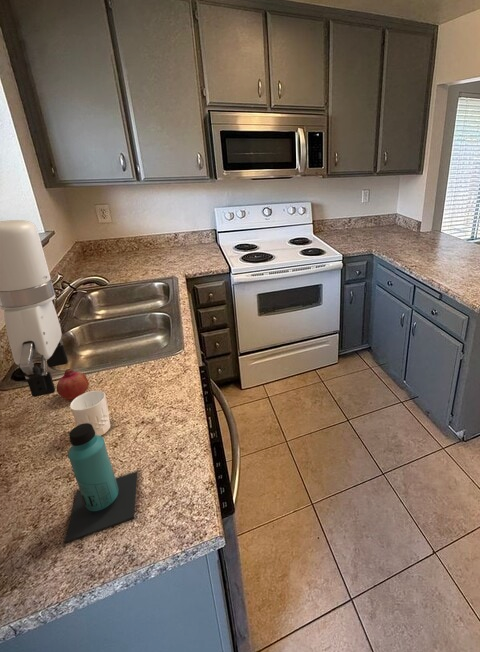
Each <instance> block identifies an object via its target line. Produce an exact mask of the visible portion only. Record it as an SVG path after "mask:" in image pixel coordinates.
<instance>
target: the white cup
mask: <svg viewBox="0 0 480 652" xmlns="http://www.w3.org/2000/svg"><path fill="white" fill-rule="evenodd" d="M107 401H108V400H107V395H106V393H105V392H104V391H103V390H98V389H97V390H91V391H85V392H84V393H83V394H82V395H80V396H78V397H76V398H74V399H72V401H71V402H70V404H69V408H70V411H71V414H72V416H73V419H74V421H75V424H76V426H78V425H80V424H84V423H89V424H91V425H92V426H93V429H94V430H95V435H99V436H101V437H102V436H103V435H105V434H106V433H107V432H108V431H109V430H110V428H111V420H110V412H109V406H108V402H107Z"/></svg>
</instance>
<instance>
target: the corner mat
mask: <svg viewBox="0 0 480 652" xmlns="http://www.w3.org/2000/svg"><path fill="white" fill-rule="evenodd" d="M115 478H116V481H117V482H118V491H119V492H118V495H117V497H116V499H115V500H114V501H113V503H111V504H110V505H109V506H108V507H106V508H104V509H102V510H99V511H90V510H88V509H87V508H85V506H84V505H85V503H84V504H83V502H84V500H83V499H82V498H81V497H82V495H81V492H80V489H79V490H76V493H75V499H74V502H73V506H72V509H71V514H70V519H69V523H68V526H67V530H66V534H65V539H64V544H67V543H70V542H73V541H75V540H78V539H81V538H84V537H86V536H89V535H92V534H95V533H98V532H100V531H102V530H105V529H108V528H112V527H114V526H117V525H119V524H122V523H125V522H128V521H131V520H134V519H135V513H136V511H135V510H136V498H137V497H136V495H137V484H138V471H134V472H132V473H129V474H126V475H122V476H119V477H115Z"/></svg>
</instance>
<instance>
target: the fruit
mask: <svg viewBox="0 0 480 652" xmlns="http://www.w3.org/2000/svg"><path fill="white" fill-rule="evenodd" d="M89 383H90V382H89V379H88V377H87V375H86V374H85V373H84V372H81V371H74V369H71V368H67V369H65V371H64V374H63V375H62V376H61V377H60V378H59V380H58V381H57V384H56V392H57V394H58V396H60V397H61V398H63V399H65V400H74V399H75V398H76V397H78V396H80V395H82V394H84V393H86V392H87V390H88V389H89V385H90V384H89Z"/></svg>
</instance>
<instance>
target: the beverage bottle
mask: <svg viewBox="0 0 480 652" xmlns="http://www.w3.org/2000/svg"><path fill="white" fill-rule="evenodd" d="M68 436H69V443H70V445H71V446H70V448H69V449H68V451H67V458H68V460H69V463H70V465H71V468H72V472H73V475H74V478H75V480H76V483H77V487H78V489H79V490H80V492H81V495H82V497H81V498H82V499H83V500H84V502H83V504H84V503H85V505H84V506H85V508H87V509H88V510H90V511H99V510H102V509H104V508H106V507H108V506H109V505H110V504H111V503H113V501H114V500H115V499H116V497H117V495H118V492H119V491H118V482H117V481H116V478H117V477H116V475H115V471H114V467H113V465H112V461H111V460H110V456H109V453H108V449H107V446H106V443H105V438H104V437H103V436H102V435H101V436H99V435H95V430H94V429H93V426H92V425H91V424H89V423H84V424H80V425H78V426H77V425H76V426H75V427H73V428H72V429H71V430H70V431H69V434H68Z"/></svg>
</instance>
